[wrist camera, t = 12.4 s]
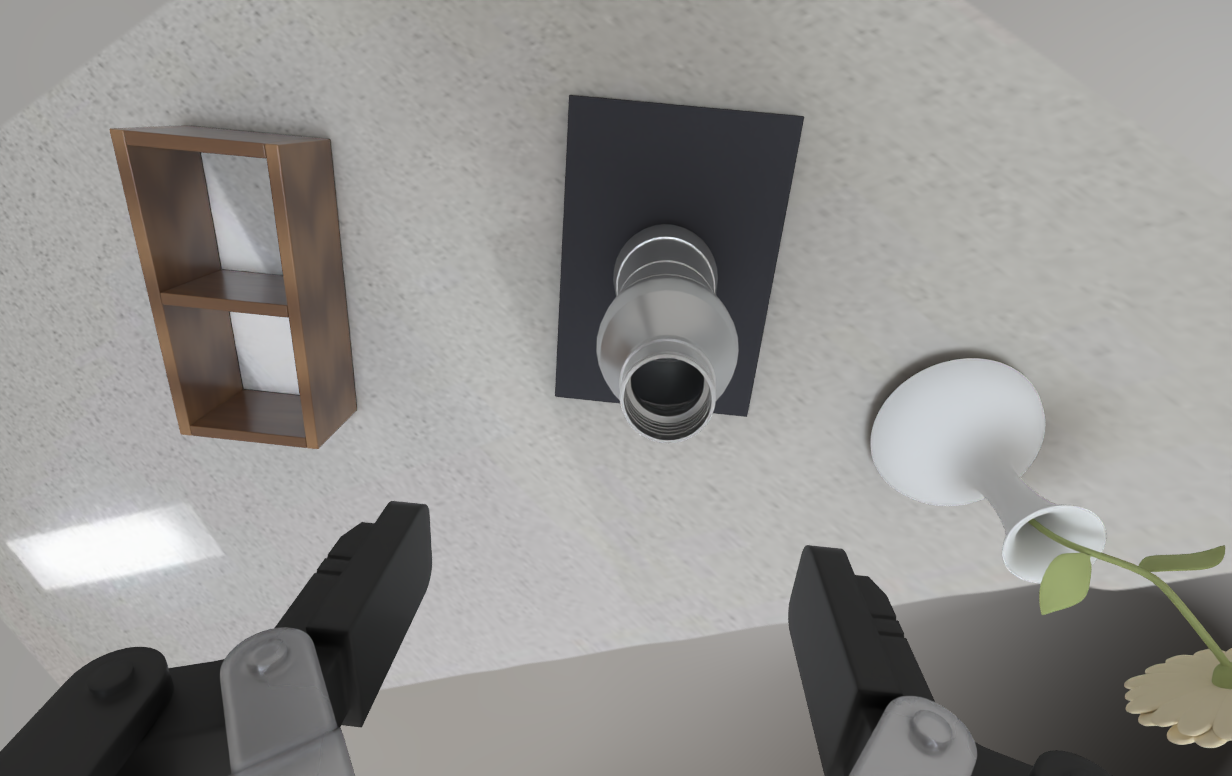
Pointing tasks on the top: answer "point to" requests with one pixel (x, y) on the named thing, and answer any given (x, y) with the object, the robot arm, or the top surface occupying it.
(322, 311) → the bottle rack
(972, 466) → the flower in vase
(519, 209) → the top surface
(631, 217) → the mat
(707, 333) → the plastic bottle
